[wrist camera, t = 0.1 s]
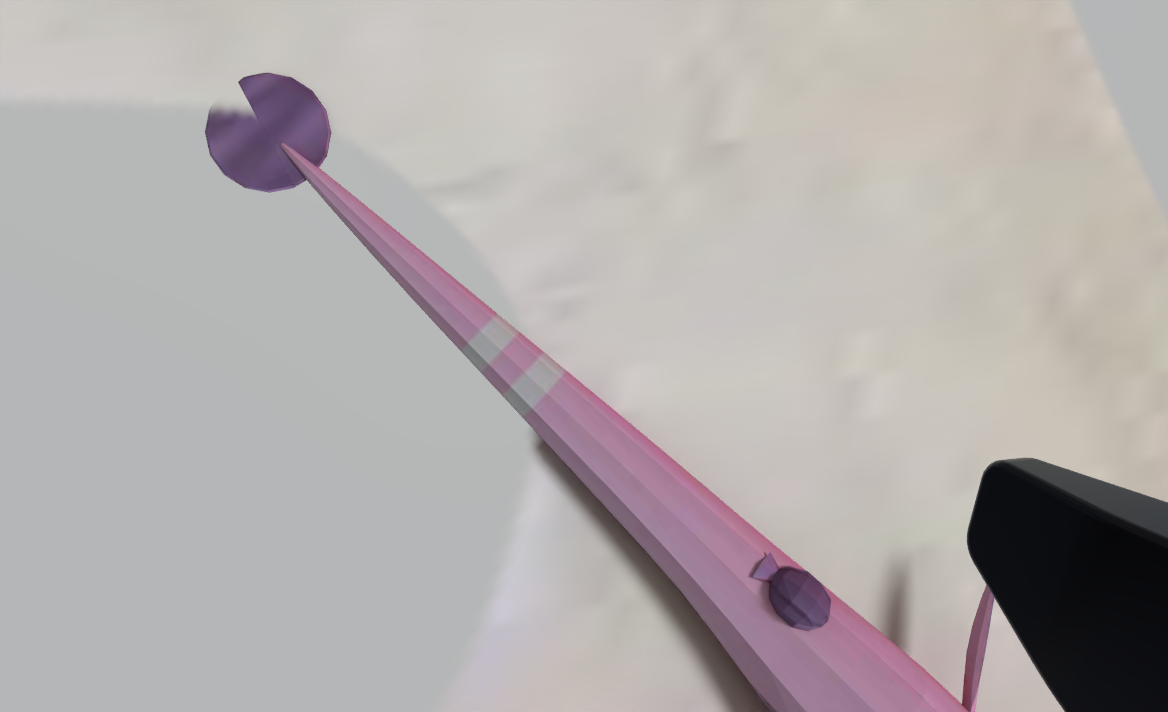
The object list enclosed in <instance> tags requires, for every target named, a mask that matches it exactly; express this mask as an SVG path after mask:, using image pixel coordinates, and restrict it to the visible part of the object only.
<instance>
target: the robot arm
mask: <svg viewBox="0 0 1168 712" xmlns="http://www.w3.org/2000/svg"><path fill="white" fill-rule="evenodd" d="M967 545H968V550H969V553H970V556H971V558H972V560H973V562H974V564H975V566H976V567H977V569H978V571H979V572H980V574H981V576H982V577H983V579H984V581H985V583H986V584H987V586H988V588H989V589H990V591H991V593H992V594H993V596H994V598H995V599H996V601H997V603H998V605H999V606H1000V608H1001V610H1002V611H1003V613H1004V615H1005V616H1006V618H1007V620H1008V621H1009V623H1010V625H1011V626H1012V628H1013V630H1014V632H1015V633H1016V635H1017V637H1018V638H1019V640H1020V642H1021V643H1022V645H1023V647H1024V648H1025V650H1026V652H1027V654H1028V655H1029V657H1030V659H1031V660H1032V662H1033V664H1034V665H1035V667H1036V669H1037V670H1038V672H1039V673H1040V675H1041V677H1042V678H1043V680H1044V681H1045V683H1046V685H1047V686H1048V688H1049V689H1050V691H1051V692H1052V694H1053V695H1054V697H1055V698H1056V700H1057V701H1058V702H1059V704H1060V705H1061V707H1062V708H1063V710H1064V711H1065V712H1168V502H1165V501H1161V500H1158V499H1155V498H1152V497H1149V496H1146V495H1143V494H1140V493H1137V492H1134V491H1131V490H1128V489H1125V488H1122V487H1119V486H1116V485H1113V484H1110V483H1107V482H1104V481H1101V480H1098V479H1095V478H1092V477H1089V476H1086V475H1083V474H1080V473H1077V472H1074V471H1071V470H1068V469H1065V468H1062V467H1059V466H1056V465H1053V464H1050V463H1047V462H1044V461H1041V460H1038V459H1034V458H1017V459H1007V460H999V461H995V462H993V463H991V464H990V465H989V466H988V467H987V468H986V470H985V471H984V473H983V476H982V479H981V482H980V486H979V490H978V493H977V497H976V501H975V505H974V508H973V512H972V516H971V520H970V523H969V527H968V532H967Z"/></svg>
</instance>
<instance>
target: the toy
mask: <svg viewBox="0 0 1168 712" xmlns="http://www.w3.org/2000/svg"><path fill="white" fill-rule="evenodd" d="M238 83H239V84H240V86H241V88H242V90H243V92H244V94H245V96H246V98H247V100H248V101H249V103H250V105H251V107H252V109H253V111H254V112H252V111H240V110H236V109H222V108H213V109H212V108H210V109H209V114H208V119H207V124H206V129H205V135H206V140H207V144H208V148H209V153H210V156H211V157H212V159H213V160H214V162H215V163H216V164H217V166H218V167H219V168H220V170H221V171H222V173H223V174H224V175H225V176H227V177H228V178H230V179H231V180H233V181H235V182H236V183H238V184H239V185H241V186H242V187H244V188H247V189H253V190H258V191H263V192H268V193H271V192H276V191H281V190H287V189H291V188H295V187H296V186H298V185H299V184H301V183H302V182H304V181H306V180H307V181H308V182H309V183H310V184H311V185H312V187H313V188H314V189H315V190H316V191H317V192H318V193H319V194H320V196H321V197H322V198H323V199H324V200H325V202H326V203H327V204H328V205H329V206H330V207H331V208H332V210H333V211H334V212H335V213H336V214H337V215H338V216H339V218H340V219H341V220H342V221H343V222H344V223H345V224H346V225H347V227H348V228H349V229H350V230H351V231H352V232H353V233H354V235H355V236H357V238H358V239H359V240H360V241H361V242H362V243H363V245H364V246H365V247H366V248H367V249H368V250H369V251H370V252H371V254H372V255H373V256H374V257H375V258H376V259H377V260H378V261H379V262H380V264H381V265H382V266H383V267H384V268H385V269H386V270H387V271H388V272H389V273H390V275H391V276H392V277H393V278H394V279H395V280H396V281H397V282H398V283H399V284H400V286H401V287H402V288H403V289H404V290H405V291H406V292H407V293H408V294H409V295H410V297H411V298H412V299H413V300H414V301H415V302H416V303H417V304H418V305H419V306H420V307H421V309H422V310H423V311H424V312H425V313H426V314H427V315H428V316H429V317H430V318H431V319H432V320H433V321H434V323H435V324H436V325H437V326H438V327H439V328H440V329H441V330H442V331H443V332H444V333H445V334H446V336H447V337H448V338H449V339H450V340H451V341H452V342H453V343H454V344H455V345H456V346H457V347H458V348H459V349H460V351H461V352H462V353H463V354H464V355H465V356H466V357H467V358H468V359H469V360H470V361H471V362H472V363H473V364H474V366H476V368H477V369H478V370H479V371H480V372H481V373H482V374H483V375H484V376H485V377H486V378H487V379H488V381H489V382H490V383H491V384H492V385H493V386H494V387H495V388H496V389H497V390H498V391H499V392H500V393H501V394H502V396H503V397H504V398H505V399H506V400H507V401H508V402H509V403H510V404H511V405H512V406H513V407H514V409H515V410H516V411H517V412H518V413H519V414H520V415H521V416H522V417H523V418H524V419H525V420H526V421H527V423H528V424H529V425H530V426H531V427H532V428H533V429H534V430H535V431H536V432H537V433H538V434H539V436H540V437H541V438H542V439H543V440H544V441H545V442H546V443H547V444H548V445H549V446H550V447H551V449H552V450H553V451H554V452H555V453H556V454H557V455H558V456H559V457H560V458H561V459H562V460H563V461H564V463H565V464H566V465H567V466H568V467H569V468H570V469H571V470H572V471H573V472H574V473H575V474H576V476H577V477H578V478H579V479H580V480H581V481H582V482H583V483H584V484H585V485H586V486H587V487H588V489H589V490H590V491H591V492H592V493H593V494H594V495H595V496H596V497H597V498H598V499H599V500H600V501H601V503H602V504H603V505H604V506H605V507H606V508H607V509H608V510H609V511H610V512H611V513H612V515H613V516H614V517H615V518H616V519H617V520H618V521H619V522H620V523H621V524H622V525H623V527H624V528H625V529H626V530H627V531H628V532H629V533H630V534H631V535H632V536H633V537H634V539H635V540H636V541H637V542H638V543H639V544H640V545H641V546H642V547H643V548H644V550H645V551H646V552H647V553H648V554H649V555H650V556H651V558H652V559H653V560H654V561H655V562H656V563H657V564H658V566H659V567H660V568H661V569H662V570H663V571H664V572H665V574H666V575H667V576H668V577H669V578H670V579H671V580H672V582H673V583H674V584H675V585H676V586H677V587H678V589H679V590H680V591H681V592H682V593H683V595H684V596H685V597H686V598H687V600H688V601H689V602H690V604H691V605H692V606H693V607H694V609H695V610H696V611H697V613H698V614H699V615H700V616H701V618H702V619H703V620H704V622H705V623H706V624H707V626H708V627H709V628H710V629H711V631H712V632H713V633H714V635H715V636H716V637H717V639H718V640H719V641H720V643H721V644H722V646H723V647H724V648H725V650H726V651H727V652H728V654H729V655H730V656H731V658H732V659H733V661H734V662H735V663H736V665H737V666H738V667H739V669H740V670H741V671H742V673H743V674H744V676H745V677H746V678H747V680H748V681H749V683H750V684H751V685H752V687H753V688H754V690H755V691H756V693H757V694H758V696H759V697H760V698H761V700H762V701H763V703H764V704H765V706H766V707H767V708H768V710H769V711H770V712H975V708H976V700H977V693H978V686H979V681H980V676H981V670H982V665H983V660H984V655H985V649H986V644H987V638H988V632H989V627H990V620H991V614H992V608H993V602H994V596H993V594H992V593H991V591H990V589H989V588H988V586H987V585H986V588H985V590H984V593H983V595H982V598H981V601H980V604H979V607H978V610H977V613H976V616H975V619H974V622H973V626H972V630H971V635H970V639H969V644H968V648H967V654H966V665H965V675H964V687H963V700H962V704H961V703H960V702H959V701H958V700H957V699H956V698H955V697H953V696H952V695H951V694H950V693H949V692H948V691H947V690H946V689H945V688H944V687H943V686H942V685H941V684H940V683H939V682H938V681H936V680H935V679H934V678H933V677H932V676H931V675H930V674H929V673H928V672H927V671H926V670H925V669H924V668H923V667H921V666H920V665H919V664H918V663H917V662H915V661H914V660H913V659H912V658H911V657H909V656H908V655H907V654H906V653H905V652H903V651H902V650H901V649H900V648H899V647H898V646H896V645H895V644H894V643H893V642H892V641H890V640H889V639H888V638H887V637H886V636H884V635H883V634H882V633H881V632H880V631H878V630H877V629H876V628H875V627H874V626H872V625H871V624H870V623H869V622H868V621H866V620H865V619H864V618H863V617H861V616H860V615H859V614H858V613H857V612H855V611H854V610H853V609H852V608H850V607H849V606H848V605H847V604H846V603H844V602H843V601H842V600H841V599H840V598H838V597H837V596H836V595H835V594H833V593H832V592H831V591H830V590H829V589H827V588H826V587H825V586H824V585H822V584H821V583H820V582H819V581H818V580H817V579H816V578H815V577H813V576H812V575H811V574H810V573H809V572H808V571H805V570H804V569H803V568H802V567H801V566H799V565H798V564H797V563H796V562H794V561H793V560H792V559H791V558H790V557H788V556H787V555H786V554H785V553H783V552H782V551H781V550H780V549H779V548H777V547H776V546H775V545H774V544H773V543H771V542H770V541H769V540H768V539H767V538H765V537H764V536H763V535H762V534H761V533H759V532H758V531H757V530H756V529H755V528H753V527H752V526H751V525H750V524H749V523H747V522H746V521H745V520H744V519H743V518H742V517H740V516H739V515H738V514H737V513H736V512H734V511H733V510H732V509H731V508H730V507H729V506H727V505H726V504H725V503H724V502H723V501H722V500H720V499H719V498H718V497H717V496H716V495H714V494H713V493H712V492H711V491H710V490H709V489H707V488H706V487H705V486H704V485H703V484H702V483H700V482H699V481H698V480H697V479H696V478H694V477H693V476H692V475H691V474H690V473H689V472H687V471H686V470H685V469H684V468H683V467H681V466H680V465H679V464H678V463H677V462H676V461H674V460H673V459H672V458H671V457H670V456H668V455H667V454H666V453H665V452H664V451H662V450H661V449H660V448H659V447H658V446H657V445H655V444H654V443H653V442H652V441H651V440H649V439H648V438H647V437H646V436H645V435H643V434H642V433H641V432H640V431H639V430H637V429H636V428H635V427H634V426H633V425H631V424H630V423H629V422H628V421H627V420H625V419H624V418H623V417H622V416H621V415H619V414H618V413H617V412H616V411H615V410H613V409H612V408H611V407H610V406H608V405H607V404H606V403H605V402H604V401H602V400H601V399H600V398H599V397H598V396H596V395H595V394H594V393H593V392H592V391H590V390H589V389H588V388H587V387H585V386H584V385H583V384H582V383H581V382H579V381H578V380H577V379H576V378H575V377H573V376H572V375H571V374H570V373H569V372H567V371H566V370H565V369H564V368H562V367H561V366H560V365H559V364H558V363H556V362H555V361H554V360H553V359H552V358H550V357H549V356H548V355H547V354H546V353H544V352H543V351H542V350H541V349H539V348H538V347H537V346H536V345H535V344H533V343H532V342H531V341H530V340H529V339H527V338H526V337H525V336H524V335H522V334H521V333H520V332H519V331H518V330H516V329H515V328H514V327H513V326H512V325H510V324H509V323H508V322H507V321H505V320H504V319H503V318H502V317H501V316H499V315H498V314H497V313H496V312H495V311H493V310H492V309H491V308H490V307H488V306H487V305H486V304H485V303H484V302H482V301H481V300H480V299H479V298H477V297H476V296H475V295H474V294H473V293H471V292H470V291H469V290H468V289H467V288H465V287H464V286H463V285H462V284H460V283H459V282H458V281H457V280H456V279H455V278H453V277H452V276H451V275H450V274H448V273H447V272H446V271H445V270H443V269H442V268H441V267H440V266H439V265H438V264H436V263H435V262H434V261H433V260H431V259H430V258H429V257H428V256H426V255H425V254H424V253H423V252H422V251H421V250H419V249H418V248H417V247H416V246H414V245H413V244H412V243H411V242H410V241H408V240H407V239H406V238H405V237H403V236H402V235H401V234H400V233H399V232H397V231H396V230H395V229H394V228H392V227H391V226H390V225H389V224H388V223H386V222H385V221H384V220H383V219H381V218H380V217H379V216H378V215H377V214H375V213H374V212H373V211H372V210H370V209H369V208H368V207H367V206H366V205H364V204H363V203H362V202H361V201H359V200H358V199H357V198H356V197H355V196H353V195H352V194H351V193H350V192H348V191H347V190H346V189H345V188H343V187H342V186H341V185H340V184H338V183H337V182H336V181H335V180H333V179H332V178H331V177H330V176H328V175H327V174H326V173H325V172H323V171H322V170H321V169H320V168H319V167H320V165H321V164H322V162H323V161H324V159H325V158H326V156H327V153H328V147H329V142H330V137H331V130H330V125H329V121H328V116H327V112H326V109H325V108H324V107H323V105H322V104H321V102H320V101H319V100H318V98H317V97H316V95H315V94H314V93H313V91H312V90H310V89H309V88H307V87H306V86H304V85H302V84H301V83H299V82H298V81H296V80H295V79H293V78H291V77H286V76H281V75H277V74H272V73H263V74H257V75H251V76H247V77H244V78H243V79H241V80H240V81H239V82H238Z"/></svg>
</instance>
